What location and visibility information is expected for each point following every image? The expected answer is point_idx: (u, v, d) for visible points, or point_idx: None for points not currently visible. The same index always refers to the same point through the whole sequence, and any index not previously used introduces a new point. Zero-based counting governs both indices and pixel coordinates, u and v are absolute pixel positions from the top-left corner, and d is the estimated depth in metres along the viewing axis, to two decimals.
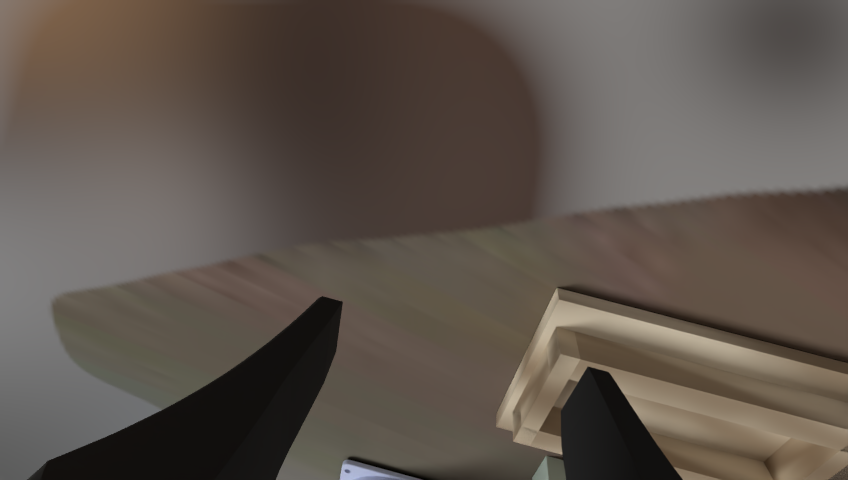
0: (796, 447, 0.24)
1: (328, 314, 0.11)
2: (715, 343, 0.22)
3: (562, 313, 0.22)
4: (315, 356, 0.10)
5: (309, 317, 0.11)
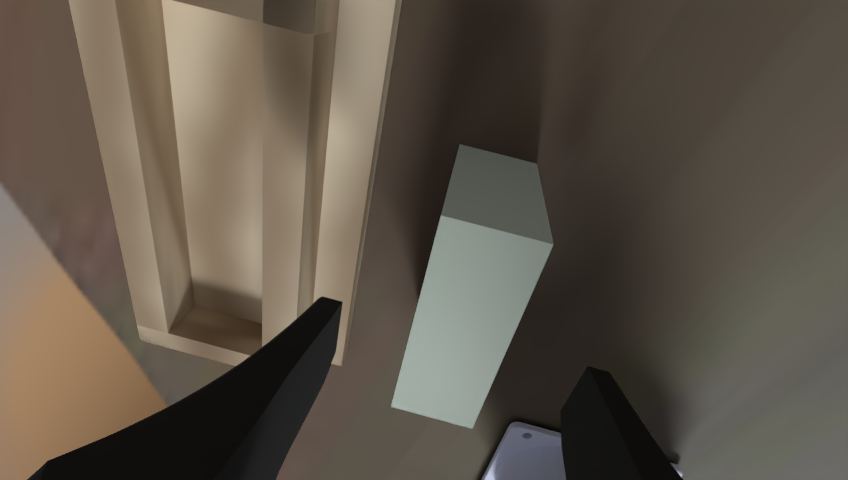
0: None
1: (328, 314, 0.11)
2: None
3: None
4: (315, 356, 0.10)
5: (309, 317, 0.11)
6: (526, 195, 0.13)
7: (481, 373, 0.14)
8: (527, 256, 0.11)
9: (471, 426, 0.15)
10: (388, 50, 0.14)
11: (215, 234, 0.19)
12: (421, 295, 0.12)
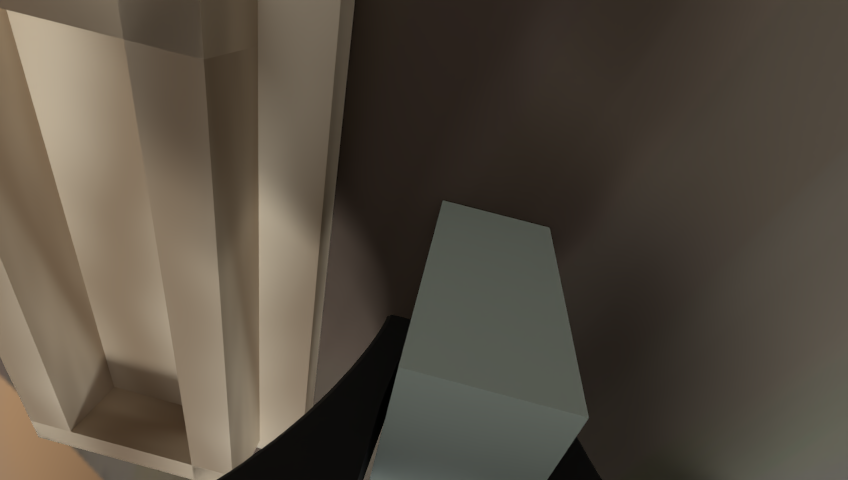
0: None
1: (403, 334, 0.11)
2: None
3: None
4: (394, 377, 0.10)
5: (387, 338, 0.11)
6: (539, 298, 0.09)
7: None
8: (544, 429, 0.07)
9: None
10: (334, 76, 0.09)
11: (126, 307, 0.14)
12: (375, 464, 0.08)
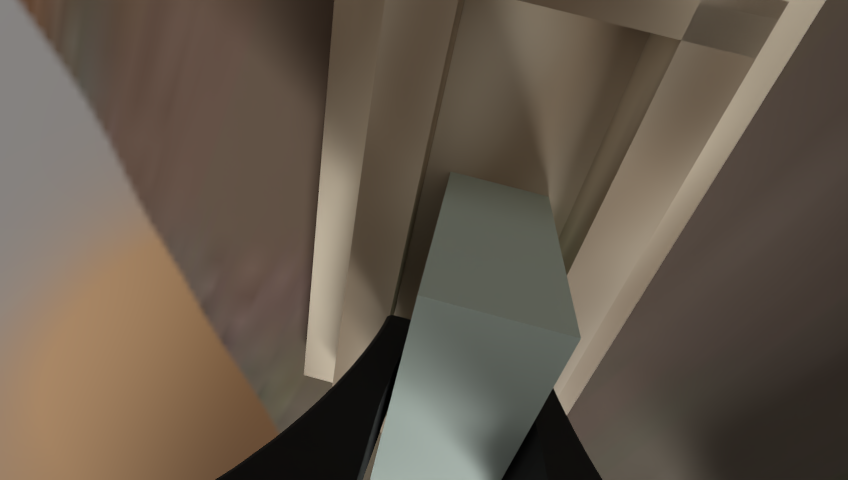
0: None
1: (403, 334, 0.11)
2: (322, 213, 0.14)
3: (322, 372, 0.18)
4: (393, 377, 0.10)
5: (386, 337, 0.11)
6: (538, 250, 0.10)
7: None
8: (542, 351, 0.08)
9: None
10: (777, 74, 0.10)
11: None
12: (394, 392, 0.09)
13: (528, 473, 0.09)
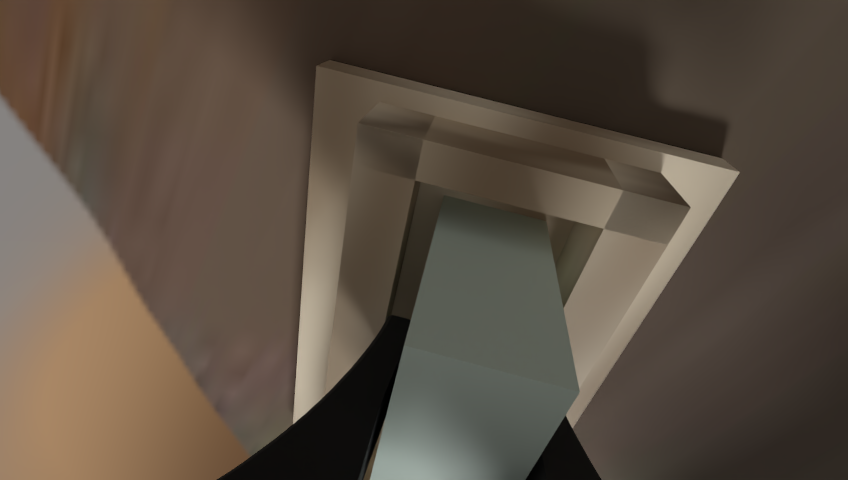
0: None
1: (403, 334, 0.11)
2: (304, 317, 0.15)
3: None
4: (394, 377, 0.10)
5: (387, 338, 0.11)
6: (535, 285, 0.09)
7: None
8: (539, 404, 0.07)
9: None
10: (700, 229, 0.12)
11: None
12: (382, 440, 0.09)
13: None
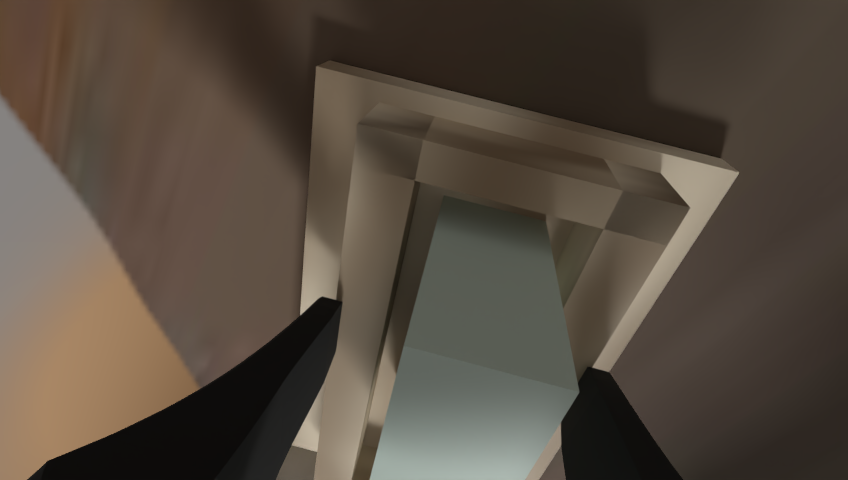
0: None
1: (328, 314, 0.11)
2: None
3: (308, 443, 0.20)
4: (315, 356, 0.10)
5: (309, 317, 0.11)
6: (535, 286, 0.09)
7: None
8: (538, 404, 0.07)
9: None
10: (700, 229, 0.12)
11: None
12: (381, 440, 0.09)
13: None
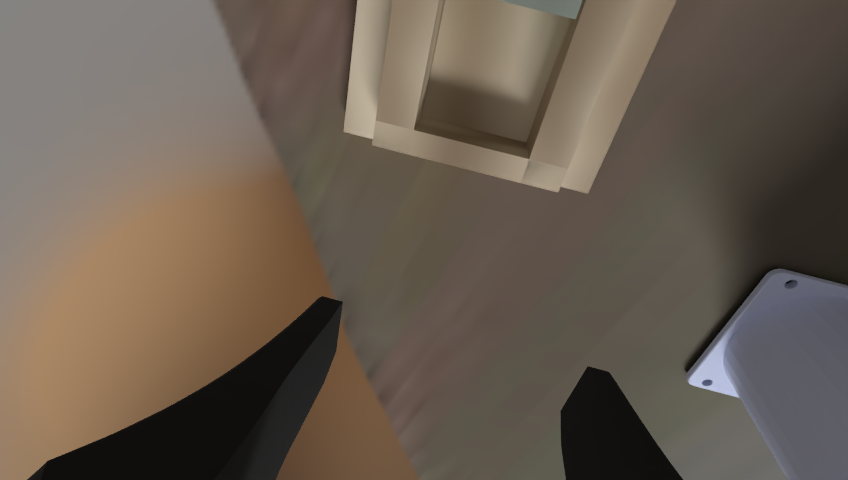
0: None
1: (328, 314, 0.11)
2: None
3: (362, 125, 0.18)
4: (315, 356, 0.10)
5: (309, 317, 0.11)
6: None
7: None
8: None
9: (575, 13, 0.10)
10: None
11: None
12: None
13: None
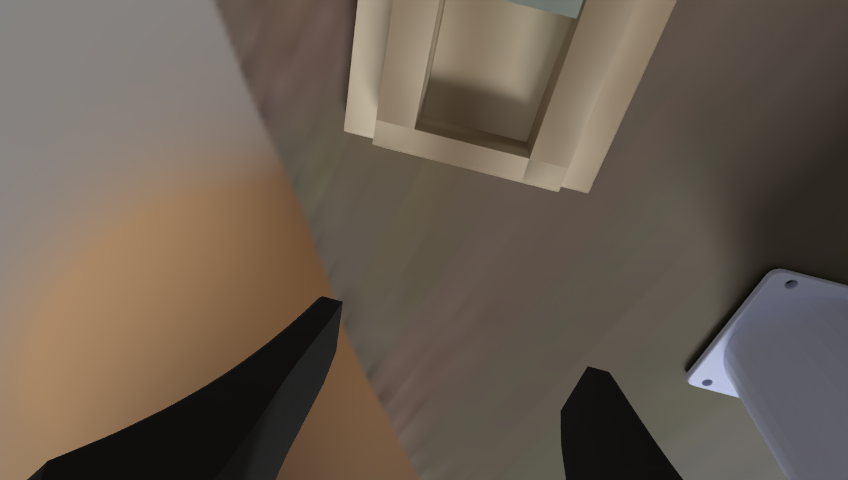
0: None
1: (328, 314, 0.11)
2: None
3: (363, 124, 0.18)
4: (315, 356, 0.10)
5: (309, 317, 0.11)
6: None
7: None
8: None
9: (575, 12, 0.10)
10: None
11: None
12: None
13: None
